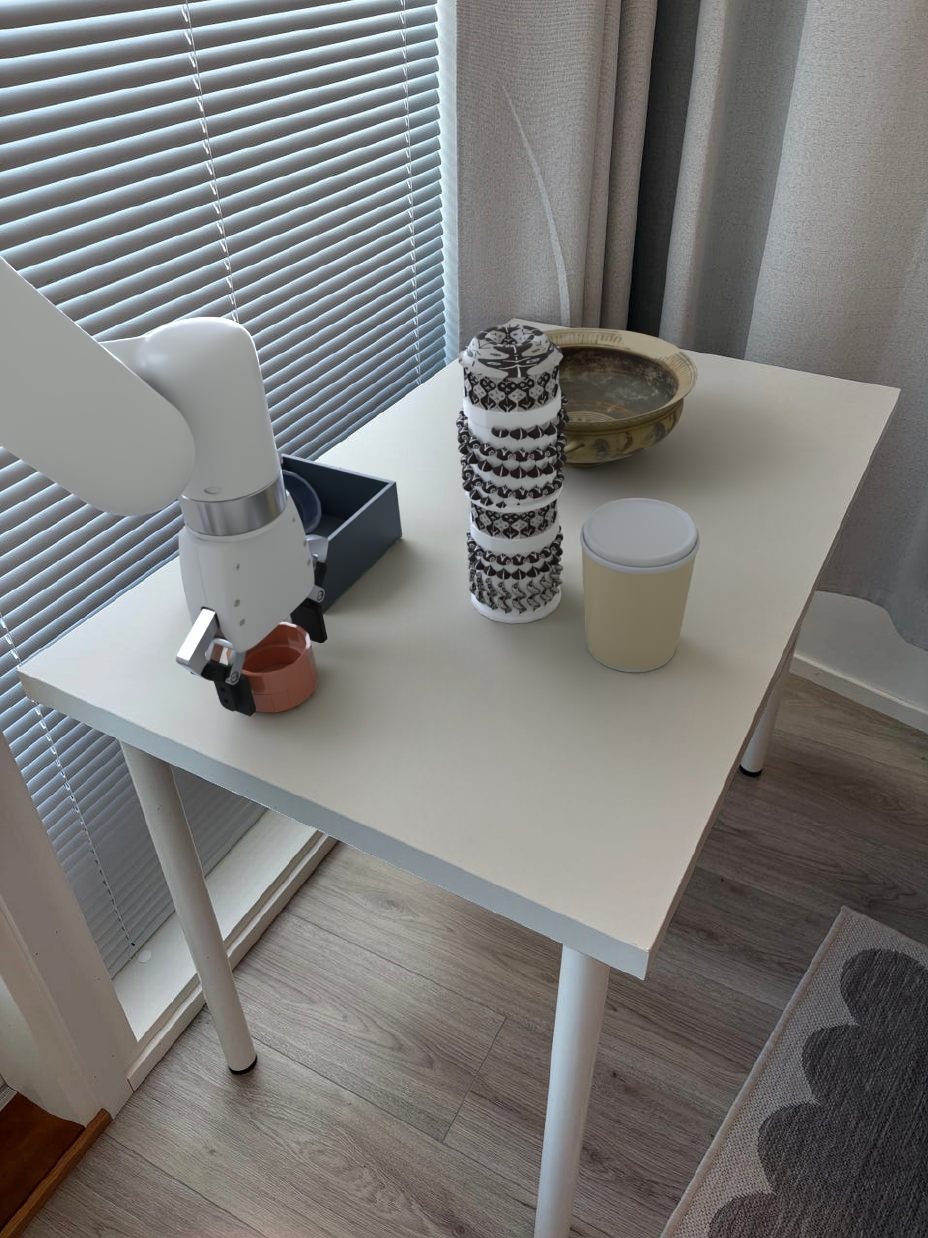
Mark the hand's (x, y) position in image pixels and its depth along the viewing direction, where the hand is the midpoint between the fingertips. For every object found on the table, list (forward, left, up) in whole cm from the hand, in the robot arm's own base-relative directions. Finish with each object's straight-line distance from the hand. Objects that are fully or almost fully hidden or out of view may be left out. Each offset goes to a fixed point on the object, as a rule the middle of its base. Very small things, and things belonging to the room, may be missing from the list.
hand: (276, 672), depth 79 cm
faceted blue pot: (+2, +22, +1) cm, 22 cm away
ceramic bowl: (+39, +28, -2) cm, 48 cm away
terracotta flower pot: (0, 0, -2) cm, 2 cm away
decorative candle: (+23, +5, -2) cm, 23 cm away
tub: (+5, +18, -2) cm, 19 cm away
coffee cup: (+30, -5, -2) cm, 30 cm away
